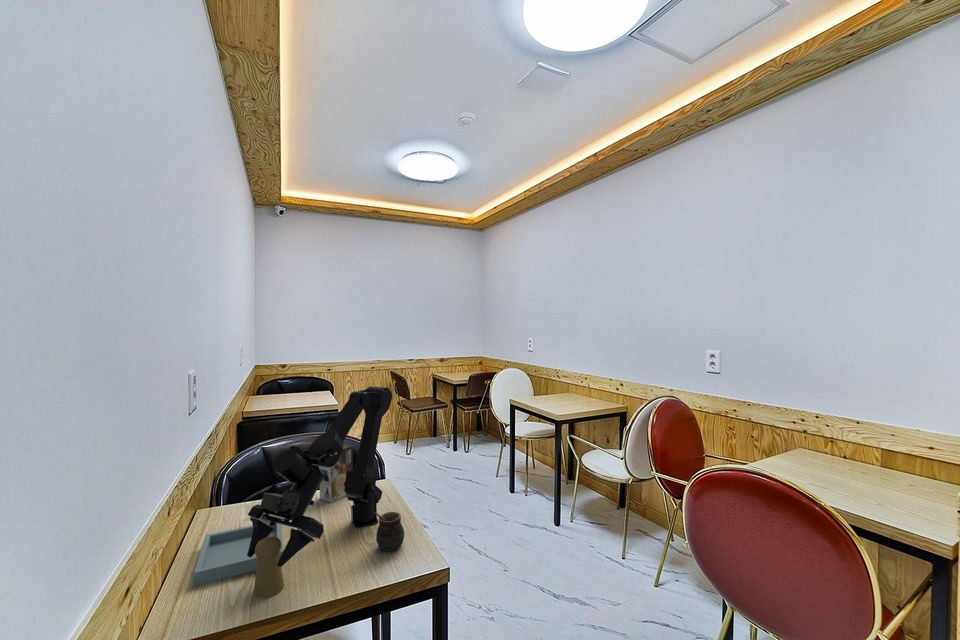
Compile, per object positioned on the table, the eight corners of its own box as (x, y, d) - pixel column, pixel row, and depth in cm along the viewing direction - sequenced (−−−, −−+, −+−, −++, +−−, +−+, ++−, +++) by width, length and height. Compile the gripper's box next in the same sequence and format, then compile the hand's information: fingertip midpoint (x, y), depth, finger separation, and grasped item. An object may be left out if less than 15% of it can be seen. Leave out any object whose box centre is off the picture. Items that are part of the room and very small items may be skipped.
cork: (271, 600, 88) (270, 549, 88) (246, 596, 89) (245, 546, 89) (290, 582, 94) (289, 534, 94) (266, 579, 95) (265, 531, 95)
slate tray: (281, 529, 117) (281, 519, 117) (283, 563, 101) (282, 551, 101) (205, 546, 109) (205, 534, 109) (194, 586, 93) (194, 572, 93)
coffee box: (341, 488, 145) (340, 442, 144) (354, 492, 141) (353, 445, 141) (318, 498, 137) (318, 450, 137) (331, 503, 133) (330, 453, 133)
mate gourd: (408, 549, 107) (407, 511, 106) (379, 558, 103) (378, 519, 103) (399, 536, 113) (398, 500, 113) (372, 544, 109) (371, 507, 109)
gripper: (254, 470, 99) (208, 539, 89) (313, 482, 91) (271, 559, 81) (282, 490, 106) (243, 556, 96) (339, 503, 99) (303, 576, 89)
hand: (263, 561), depth 90 cm, fingers open, 9 cm apart
